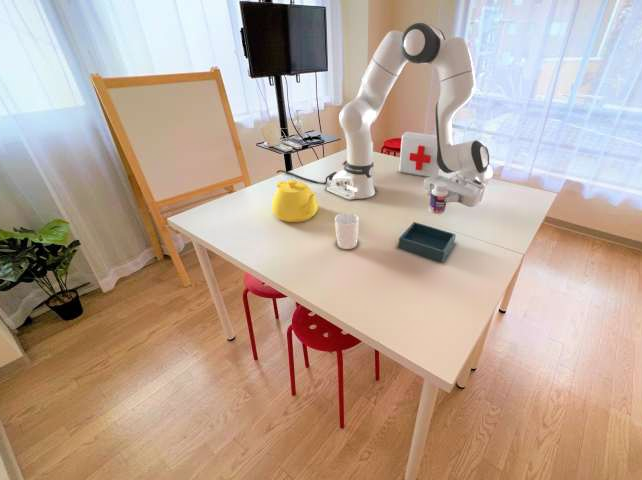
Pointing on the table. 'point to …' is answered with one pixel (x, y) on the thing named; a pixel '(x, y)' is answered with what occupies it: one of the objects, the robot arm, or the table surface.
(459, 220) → the table surface
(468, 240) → the table surface
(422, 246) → the tote
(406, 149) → the bevelled white case
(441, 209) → the pill bottle
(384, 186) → the table surface
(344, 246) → the white cup
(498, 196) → the table surface
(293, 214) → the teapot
